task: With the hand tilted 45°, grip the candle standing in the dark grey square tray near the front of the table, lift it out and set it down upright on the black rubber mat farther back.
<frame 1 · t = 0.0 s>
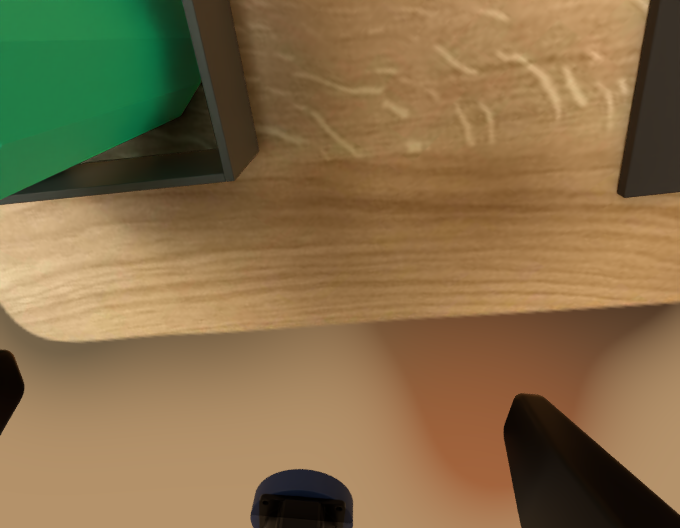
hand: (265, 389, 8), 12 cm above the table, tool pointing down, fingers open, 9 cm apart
candle: (124, 46, 16), resting in dark grey square tray
dark grey square tray: (122, 47, 16), on the table
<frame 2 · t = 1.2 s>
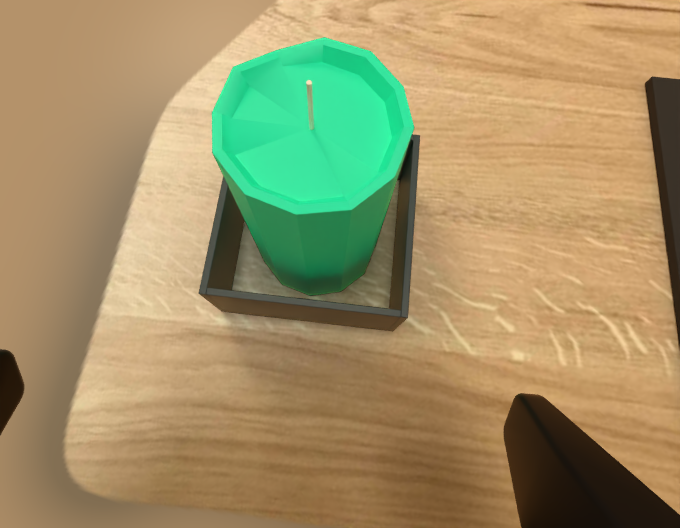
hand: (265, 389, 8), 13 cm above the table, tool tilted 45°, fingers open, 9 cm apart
candle: (318, 241, 23), resting in dark grey square tray
dark grey square tray: (318, 240, 23), on the table
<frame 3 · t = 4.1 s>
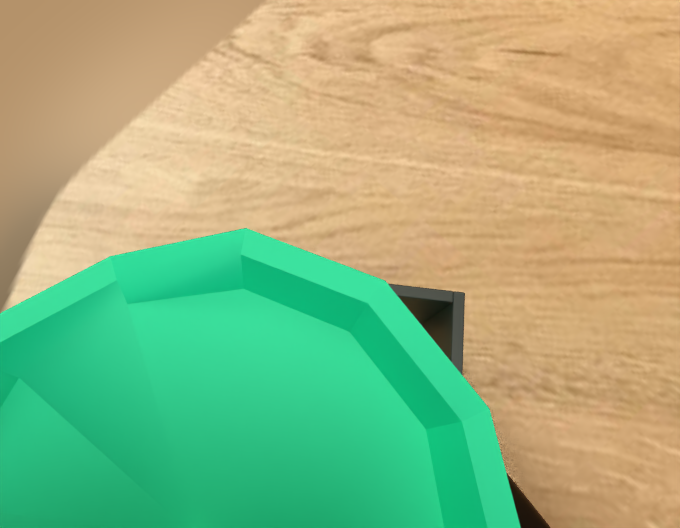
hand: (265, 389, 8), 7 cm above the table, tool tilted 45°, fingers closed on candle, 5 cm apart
candle: (288, 435, 14), resting in dark grey square tray, touching gripper
dark grey square tray: (287, 436, 14), on the table
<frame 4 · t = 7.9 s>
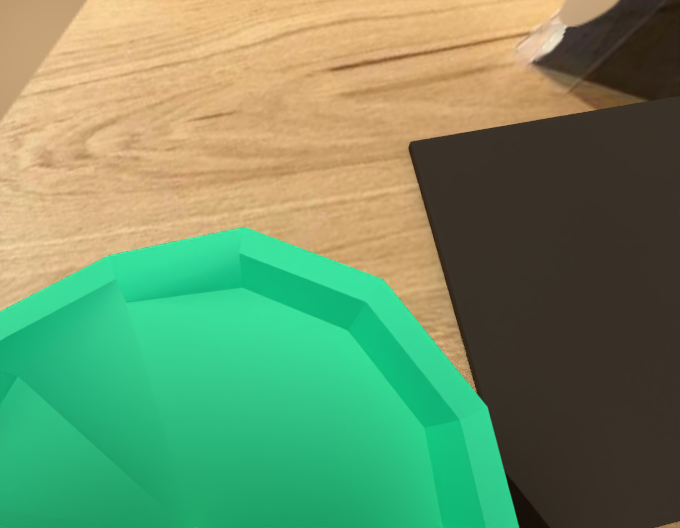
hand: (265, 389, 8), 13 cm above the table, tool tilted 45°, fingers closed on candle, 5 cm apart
mat: (646, 286, 22), on the table
candle: (287, 435, 14), point 6 cm above the table, touching gripper
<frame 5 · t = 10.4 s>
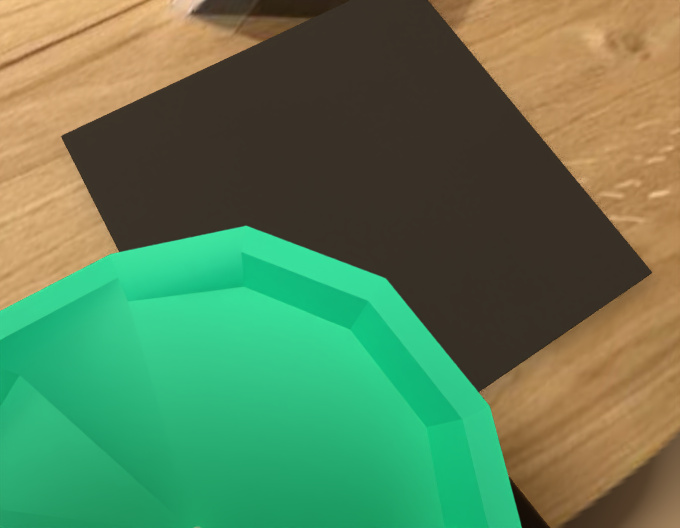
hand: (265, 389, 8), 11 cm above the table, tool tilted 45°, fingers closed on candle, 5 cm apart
mat: (348, 207, 21), on the table
candle: (287, 434, 14), point 4 cm above the table, touching gripper
when the fingers open (7 cm above the table, at t = 11.9 s): candle stays where it is, resting on mat.
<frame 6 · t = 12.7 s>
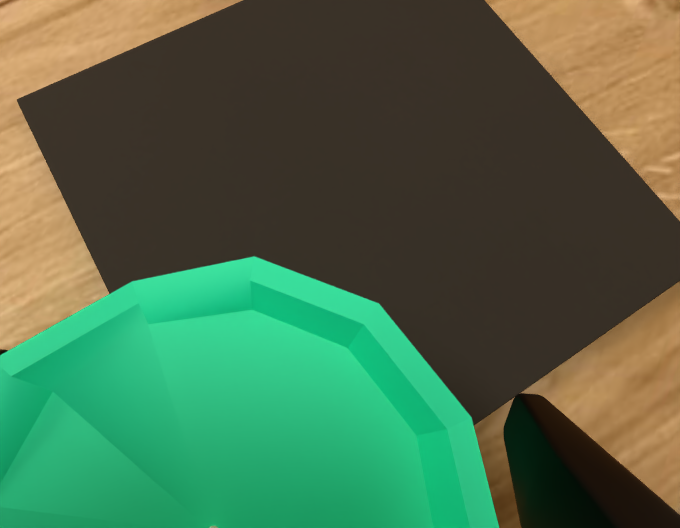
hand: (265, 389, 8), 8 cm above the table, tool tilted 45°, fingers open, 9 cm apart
mat: (352, 182, 18), on the table
candle: (290, 437, 14), resting on mat
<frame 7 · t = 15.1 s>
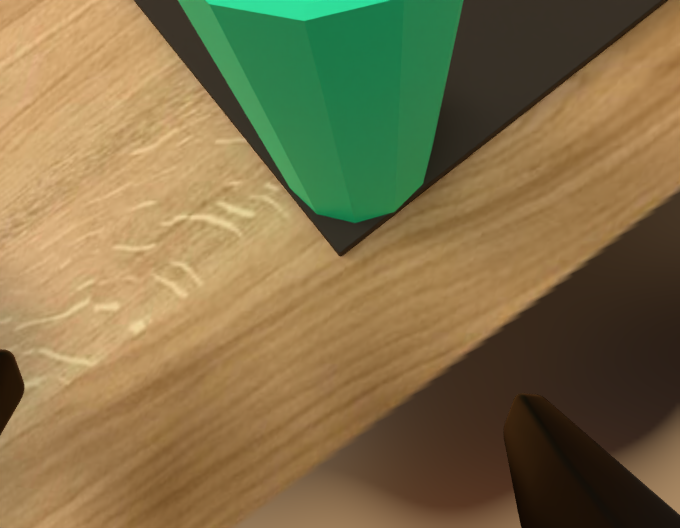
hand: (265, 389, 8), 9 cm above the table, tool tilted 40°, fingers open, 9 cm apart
candle: (355, 152, 17), resting on mat
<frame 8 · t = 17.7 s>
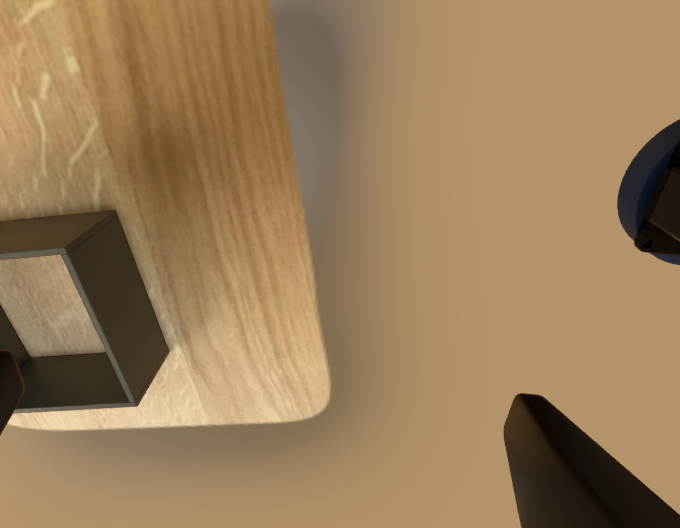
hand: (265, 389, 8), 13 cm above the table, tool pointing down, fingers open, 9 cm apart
dark grey square tray: (67, 294, 23), on the table
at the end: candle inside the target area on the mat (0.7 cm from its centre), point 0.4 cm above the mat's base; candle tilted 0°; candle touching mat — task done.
